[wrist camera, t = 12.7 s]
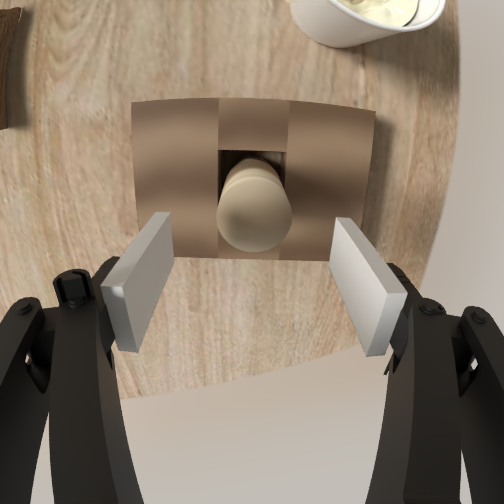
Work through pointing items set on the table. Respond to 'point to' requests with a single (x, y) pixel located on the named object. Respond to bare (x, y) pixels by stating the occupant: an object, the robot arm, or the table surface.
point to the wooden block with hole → (260, 139)
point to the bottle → (253, 206)
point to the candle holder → (361, 19)
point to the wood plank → (6, 54)
